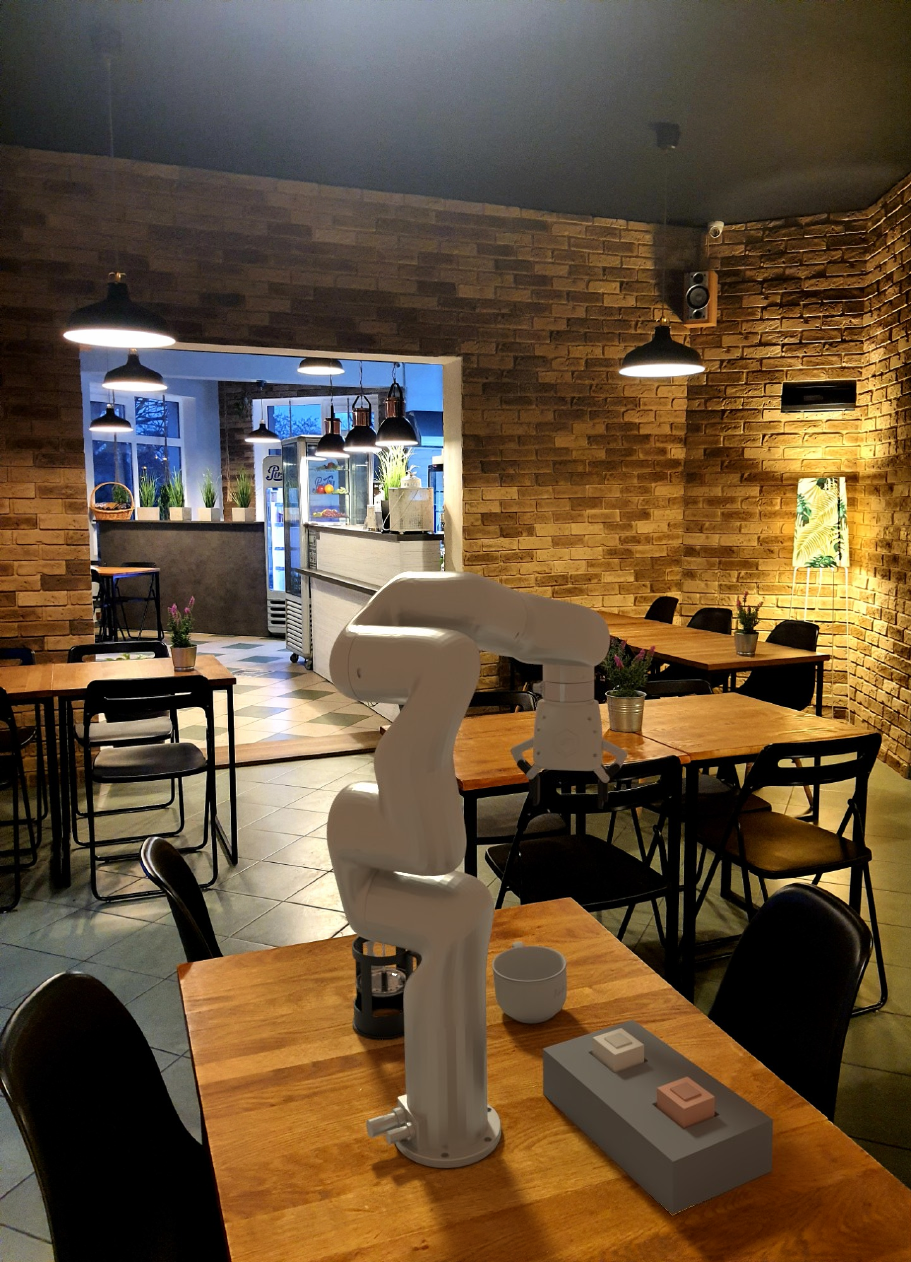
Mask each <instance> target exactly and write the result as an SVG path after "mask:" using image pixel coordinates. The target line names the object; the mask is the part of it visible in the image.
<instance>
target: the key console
mask: <svg viewBox="0 0 911 1262" xmlns="http://www.w3.org/2000/svg"><path fill="white" fill-rule="evenodd" d="M620 1028H622V1029H623V1030H625V1031H626V1032H627V1033H629V1034H630V1035H631V1036H633V1037H634V1038H636V1039H637V1040H638V1041H640V1042H641V1043H642V1044H644V1063H642V1064H639V1065H636V1066H634V1067H631V1068H628V1069H625V1070H622V1071H619V1072H616V1073H613V1072H612V1071H611V1070H609V1069H608V1068H607V1067H606V1066H604V1065H603V1064H602V1063H601V1062H600V1061H598V1060H597V1059H596V1058H595V1057H593V1037H595V1036H598V1035H602V1034H605V1033H608V1032H611V1031H614V1030H617V1029H620ZM685 1077H689V1078H690V1079H691V1080H693V1081H694V1082H695V1083H697V1084H698V1085H699V1086H701V1087H702V1088H704V1089H705V1090H706V1091H708V1092H709V1093H710V1094H712V1095H713V1096H714V1097H715V1117H713V1118H711V1119H708V1120H706V1121H704V1122H701V1123H699V1124H696V1125H694V1126H691V1127H689V1128H686V1129H684V1130H683V1129H682V1128H681V1127H680V1126H678V1125H677V1124H676V1123H675V1122H673V1121H672V1120H671V1119H670V1118H669V1117H667V1116H666V1115H665V1114H664V1113H662V1112H661V1111H660V1110H659V1109H657V1088H658V1087H660V1086H663V1085H666V1084H669V1083H671V1082H674V1081H677V1080H679V1079H682V1078H685ZM542 1095H543V1096H545V1098H547V1099H548V1100H549V1101H550V1102H551V1103H552V1104H553V1106H555V1107H556V1108H557V1109H558V1110H560V1112H561V1113H563V1114H564V1116H565V1117H567V1118H568V1119H569V1120H570V1121H571V1122H572V1123H573V1124H574V1125H575V1126H576V1127H577V1129H579V1130H580V1131H582V1132H583V1133H584V1134H585V1135H586V1136H587V1138H589V1139H590V1140H591V1141H592V1142H593V1143H594V1144H595V1145H596V1146H597V1147H598V1148H599V1149H600V1150H602V1152H604V1153H605V1154H606V1155H607V1156H608V1157H609V1158H610V1159H611V1160H612V1161H613V1162H614V1163H615V1164H616V1165H617V1166H619V1168H620V1169H622V1170H623V1172H625V1173H626V1174H627V1175H628V1176H629V1177H630V1178H631V1179H632V1180H633V1181H634V1182H635V1183H637V1185H638V1186H640V1187H641V1189H643V1190H644V1191H645V1192H646V1193H647V1194H648V1195H649V1194H650V1195H651V1196H652V1197H653V1198H654V1199H653V1198H652V1197H651V1198H652V1199H653V1200H654V1201H656V1202H657V1203H658V1204H659V1203H660V1204H662V1206H663V1207H664V1208H666V1209H667V1210H668V1211H669V1212H670V1213H671V1214H672V1215H673V1214H675V1213H678V1212H679V1211H682V1210H684V1209H686V1208H689V1207H690V1206H693V1205H696V1204H698V1205H700V1204H699V1203H701V1204H703V1203H704V1202H703V1201H705V1202H707V1201H709V1200H711V1198H712V1199H714V1198H716V1197H718V1196H720V1195H722V1194H725V1193H727V1192H729V1191H731V1190H734V1189H735V1187H736V1188H738V1187H740V1186H742V1185H744V1184H747V1183H748V1182H751V1181H754V1180H756V1179H757V1178H759V1177H762V1176H764V1175H766V1174H768V1173H770V1172H772V1171H773V1133H774V1131H773V1128H774V1127H773V1125H774V1119H773V1118H772V1117H770V1116H769V1115H767V1114H766V1113H765V1112H763V1111H762V1110H760V1109H759V1108H758V1107H756V1106H755V1105H753V1104H752V1103H751V1102H749V1101H747V1099H745V1098H743V1097H742V1096H740V1095H739V1094H738V1093H736V1092H735V1091H733V1090H732V1089H731V1088H730V1087H728V1086H727V1085H725V1084H724V1083H722V1082H721V1081H719V1080H718V1079H717V1078H715V1077H714V1076H712V1075H711V1074H709V1073H708V1072H707V1071H705V1070H704V1069H702V1068H701V1067H700V1066H698V1065H697V1064H695V1063H694V1062H693V1061H691V1060H690V1059H689V1058H687V1057H686V1056H684V1055H683V1054H682V1053H680V1052H679V1051H677V1050H676V1049H674V1048H673V1047H671V1046H670V1045H669V1044H667V1043H666V1042H664V1041H663V1040H661V1038H660V1037H658V1036H656V1035H655V1034H654V1033H652V1032H651V1031H649V1030H648V1029H647V1028H645V1027H643V1026H642V1025H641V1024H639V1023H638V1022H637V1021H635V1020H634V1019H631V1020H626V1021H625V1022H621V1023H618V1024H615V1025H613V1026H609V1027H605V1028H603V1029H599V1030H596V1031H593V1032H590V1033H587V1034H584V1035H581V1036H578V1037H574V1038H572V1039H568V1040H565V1041H562V1042H559V1043H555V1044H553V1045H549V1046H547V1047H544V1048H542ZM724 1192H725V1193H724ZM650 1195H649V1196H650ZM713 1197H714V1198H713ZM708 1199H709V1200H708ZM706 1200H707V1201H706ZM702 1202H703V1203H702ZM660 1204H659V1205H660ZM662 1206H661V1207H662ZM696 1206H697V1205H696ZM663 1207H662V1208H663ZM664 1208H663V1209H664Z"/></svg>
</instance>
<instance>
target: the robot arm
mask: <svg viewBox="0 0 911 1262" xmlns="http://www.w3.org/2000/svg"><path fill="white" fill-rule="evenodd" d="M610 635H611V634H610V629H609V626H608V624H607V622H606V620H605V619H604V617H603V616H602V615H601V614H600V613H599V612H597V611H596V610H594V609H592V608H590V607H588V606H584V605H583V604H582V605H581V604H578V603H574V602H569V601H565V600H560V599H559V600H558V599H553V598H550V597H546V596H543V595H538V594H535V593H534V594H533V593H530V592H529V593H528V592H523V591H518V590H516V589H513V588H511V587H508V586H506V585H504V584H501V582H500V583H499V582H497V581H495V580H492V579H491V578H488V577H486V576H483V575H481V574H478V573H474V572H470V571H459V570H458V571H457V570H456V571H455V570H453V571H452V570H451V571H450V570H447V571H446V570H443V571H439V570H436V571H435V570H429V571H428V570H426V571H425V570H421V571H420V570H412V571H410V570H409V571H404V572H401V573H399V574H397V575H395V576H393V577H392V578H391V579H390V580H388V581H387V582H386V583H385V584H383V585H382V586H381V587H380V588H378V590H377V591H376V592H375V593H374V594H373V595H372V596H371V597H370V598H369V599H368V600H367V602H366V603H365V604H364V605H363V606H362V607H361V608H360V609H359V611H358V612H357V613H356V614H355V615H354V616H353V617H352V618H351V619H350V620H349V622H348V623H347V624H346V625H345V626H344V627H343V628H342V630H340V632H339V634H338V636H337V638H336V639H335V641H334V643H333V645H332V647H331V651H330V655H329V659H328V660H329V661H328V662H329V663H328V668H329V675H330V679H331V681H332V684H333V686H334V687H335V688H336V690H337V691H338V692H339V693H340V694H341V695H343V696H345V697H347V698H348V699H351V700H354V701H358V702H365V703H378V704H387V705H388V704H389V705H392V704H393V705H401V706H403V707H401V709H400V712H399V713H398V714H397V716H396V717H395V718H394V720H393V721H392V723H391V724H390V725H389V727H388V728H387V729H386V730H385V732H384V734H383V735H382V736H381V738H380V739H379V742H378V744H377V745H376V748H375V750H374V755H373V771H374V775H375V779H376V780H358V781H354V782H352V783H350V784H348V785H346V786H344V787H343V788H342V789H340V790H339V791H338V793H337V794H336V795H335V797H334V798H333V801H332V803H331V805H330V808H329V812H328V816H327V821H326V822H327V823H326V843H327V844H326V845H327V849H328V854H329V855H328V856H329V859H330V863H331V866H332V870H333V874H334V875H333V876H334V879H335V881H336V886H337V890H338V893H339V898H340V901H341V906H342V908H343V913H344V915H345V919H346V921H347V924H348V925H349V927H350V928H351V930H352V931H353V932H354V933H355V934H356V935H358V936H360V937H362V938H365V939H367V940H370V941H374V942H376V943H379V944H385V945H388V946H391V947H395V948H396V947H400V948H404V949H406V951H407V950H410V951H413V952H416V953H418V954H420V955H421V957H422V961H421V963H420V965H419V966H418V967H417V968H415V969H413V972H412V974H411V975H410V976H409V978H408V980H407V982H406V985H405V988H404V998H403V1001H404V1036H403V1037H404V1073H405V1077H404V1078H405V1079H404V1080H405V1084H404V1085H405V1094H404V1095H403V1094H402V1095H400V1096H397V1107H395V1108H392V1109H391V1110H390V1113H387V1114H384V1115H383V1114H382V1115H379V1116H376V1117H373V1118H369V1119H366V1123H365V1125H366V1126H365V1127H366V1131H367V1135H368V1136H369V1138H371V1139H373V1138H377V1137H379V1136H381V1135H385V1139H386V1143H387V1144H388V1145H389V1146H390V1145H393V1144H395V1145H396V1147H397V1149H398V1151H400V1152H401V1154H403V1155H404V1156H405V1157H406V1158H408V1159H410V1160H412V1161H413V1162H416V1163H417V1164H419V1165H422V1166H423V1165H424V1166H427V1167H432V1168H436V1169H437V1168H440V1169H449V1168H450V1169H453V1168H461V1167H464V1166H468V1165H469V1166H470V1165H472V1164H475V1163H477V1162H479V1161H480V1160H482V1159H484V1158H486V1157H488V1155H489V1154H491V1153H492V1152H493V1151H494V1150H495V1149H496V1147H497V1146H498V1145H499V1142H500V1141H501V1140H500V1139H501V1136H502V1125H501V1124H502V1122H501V1121H502V1120H501V1119H500V1115H499V1114H498V1112H497V1111H496V1109H495V1108H493V1107H492V1106H491V1104H489V1103H488V1051H487V1050H488V1047H487V1045H488V1040H487V1037H488V1036H487V1035H488V1033H487V966H488V953H489V949H490V947H489V946H490V940H491V939H490V938H491V936H492V927H493V923H494V913H495V910H494V909H495V905H494V898H493V895H492V893H491V891H490V889H489V887H488V886H487V885H486V884H485V883H484V882H483V881H482V880H480V879H479V878H477V877H476V876H473V875H471V874H468V873H466V872H462V871H458V870H457V869H458V868H459V867H460V866H461V864H462V862H463V861H464V858H465V856H466V851H467V833H466V824H465V818H464V813H463V812H464V811H463V806H462V801H461V796H460V792H459V786H458V781H457V774H456V770H455V769H456V767H455V761H454V751H455V750H454V749H455V748H454V747H455V744H456V740H457V735H458V733H459V731H460V728H461V724H462V723H463V721H464V718H465V715H466V713H467V710H468V708H469V706H470V703H471V700H472V699H473V696H474V694H475V692H476V689H477V686H478V683H479V679H480V674H481V667H482V666H481V665H482V664H481V662H482V661H481V653H480V651H483V652H486V653H489V654H492V655H497V656H501V657H503V656H504V657H511V658H514V659H515V660H517V661H519V662H521V663H525V664H528V665H529V664H531V665H532V664H533V665H542V681H540V682H538V683H533V685H532V692H533V693H538V694H540V695H541V696H542V698H541V699H539V700H537V704H536V708H535V714H534V715H535V716H534V726H533V737H530V738H529V739H526V740H525V741H522V742H520V743H517V744H516V745H513V746H512V747H511V748H510V751H509V752H510V753H511V756H512V758H513V760H514V761H515V763H516V766H517V768H518V769H519V770H520V771H521V772H522V773H523V774H524V775H525V776H526V779H528V799H532V806H534V807H536V806H538V805H539V804H540V801H541V776H540V775H539V773H540V771H541V770H555V771H556V770H557V771H578V772H579V771H580V772H592V771H593V772H594V773H595V774H596V775H597V777H598V781H597V808H598V809H599V810H603V808H604V804H605V803H608V802H609V781H610V780H611V779H612V778H613V777H614V776H615V775H616V774H618V772H620V771H621V768H622V766H623V764H624V763H625V761H626V759H627V757H628V751H627V750H625V749H623V748H621V747H620V746H617V745H616V744H614V743H612V742H610V741H608V740H607V739H604V738H603V737H604V736H603V725H602V724H603V723H602V714H601V708H600V704H599V701H598V700H596V699H595V667H596V666H598V665H600V664H601V663H602V662H603V661H604V660H605V658H606V657H607V654H608V652H609V650H610V649H609V648H610V645H611V637H610ZM530 749H532V759H533V764H532V765H531V764H530V762H528V761H527V760H526V758H525V757H524V755H523V753H524V752H526V751H528V750H530ZM604 752H607V753H609V754H610V755H612V756H614V757H615V759H614V760H613V762H612V764H610V766H608V767H606V766H605V764H604V763H603V758H604V757H603V756H604V755H603V754H604Z"/></svg>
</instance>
